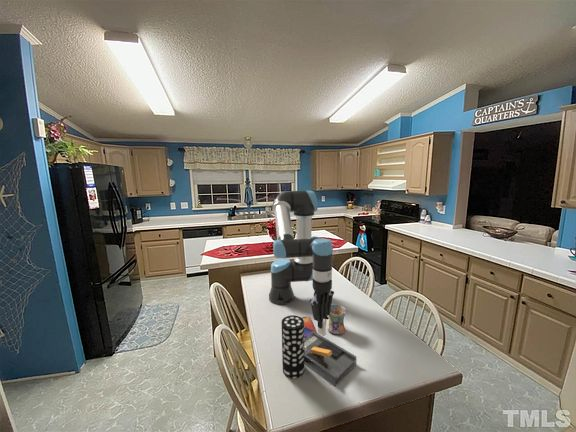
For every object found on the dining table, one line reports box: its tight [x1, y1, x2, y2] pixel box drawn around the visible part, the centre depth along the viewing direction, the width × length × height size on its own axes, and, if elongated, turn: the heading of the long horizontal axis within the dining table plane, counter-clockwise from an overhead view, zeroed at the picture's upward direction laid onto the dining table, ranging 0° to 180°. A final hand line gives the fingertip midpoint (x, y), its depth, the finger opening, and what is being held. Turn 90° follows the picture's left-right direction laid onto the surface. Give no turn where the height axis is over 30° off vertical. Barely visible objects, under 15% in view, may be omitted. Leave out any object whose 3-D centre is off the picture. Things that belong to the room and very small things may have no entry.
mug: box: [326, 303, 347, 335], centre depth 115 cm, size 12×9×11 cm
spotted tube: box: [281, 314, 305, 379], centre depth 90 cm, size 8×8×20 cm
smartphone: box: [300, 316, 318, 339], centre depth 117 cm, size 7×15×1 cm, turn 9°
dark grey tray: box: [304, 331, 357, 387], centre depth 97 cm, size 22×14×4 cm, turn 44°
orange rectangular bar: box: [311, 347, 332, 357], centre depth 94 cm, size 9×2×1 cm, turn 43°
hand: (321, 333), depth 97 cm, fingers closed
